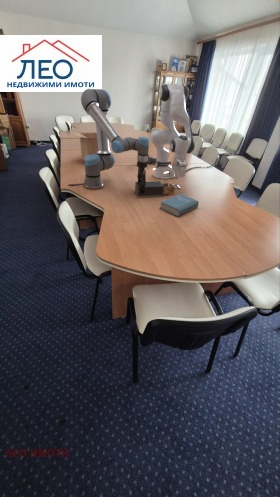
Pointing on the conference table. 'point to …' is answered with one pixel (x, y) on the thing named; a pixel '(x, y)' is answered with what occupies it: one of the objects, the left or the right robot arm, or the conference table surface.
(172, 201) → the book
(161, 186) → the dark boxy piece
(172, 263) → the conference table surface
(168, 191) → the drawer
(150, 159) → the laser sight
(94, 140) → the box
